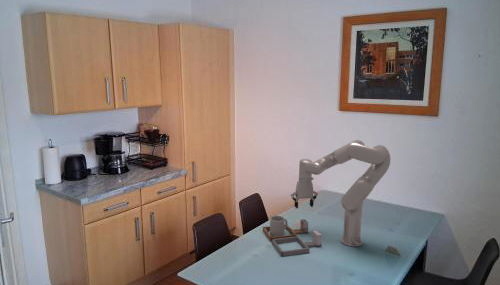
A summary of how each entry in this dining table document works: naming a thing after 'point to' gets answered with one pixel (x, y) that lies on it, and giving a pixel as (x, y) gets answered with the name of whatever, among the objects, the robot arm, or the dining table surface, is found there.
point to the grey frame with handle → (315, 242)
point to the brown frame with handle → (289, 230)
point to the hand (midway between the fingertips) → (303, 207)
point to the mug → (277, 226)
